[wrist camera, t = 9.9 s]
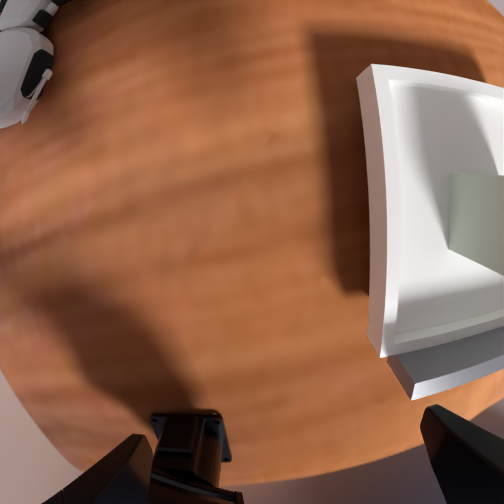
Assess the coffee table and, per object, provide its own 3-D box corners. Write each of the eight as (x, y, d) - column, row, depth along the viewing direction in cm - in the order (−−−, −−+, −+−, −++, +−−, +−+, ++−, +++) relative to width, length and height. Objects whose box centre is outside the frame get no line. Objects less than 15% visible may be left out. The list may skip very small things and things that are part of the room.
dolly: (494, 306, 21) (550, 346, 13) (355, 335, 21) (394, 404, 14) (497, 106, 17) (565, 96, 9) (345, 87, 17) (394, 43, 10)
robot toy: (24, -6, 15) (-32, 130, 17) (1, -23, 11) (-64, 126, 13) (120, -23, 16) (52, 138, 18) (101, -53, 11) (14, 129, 14)
